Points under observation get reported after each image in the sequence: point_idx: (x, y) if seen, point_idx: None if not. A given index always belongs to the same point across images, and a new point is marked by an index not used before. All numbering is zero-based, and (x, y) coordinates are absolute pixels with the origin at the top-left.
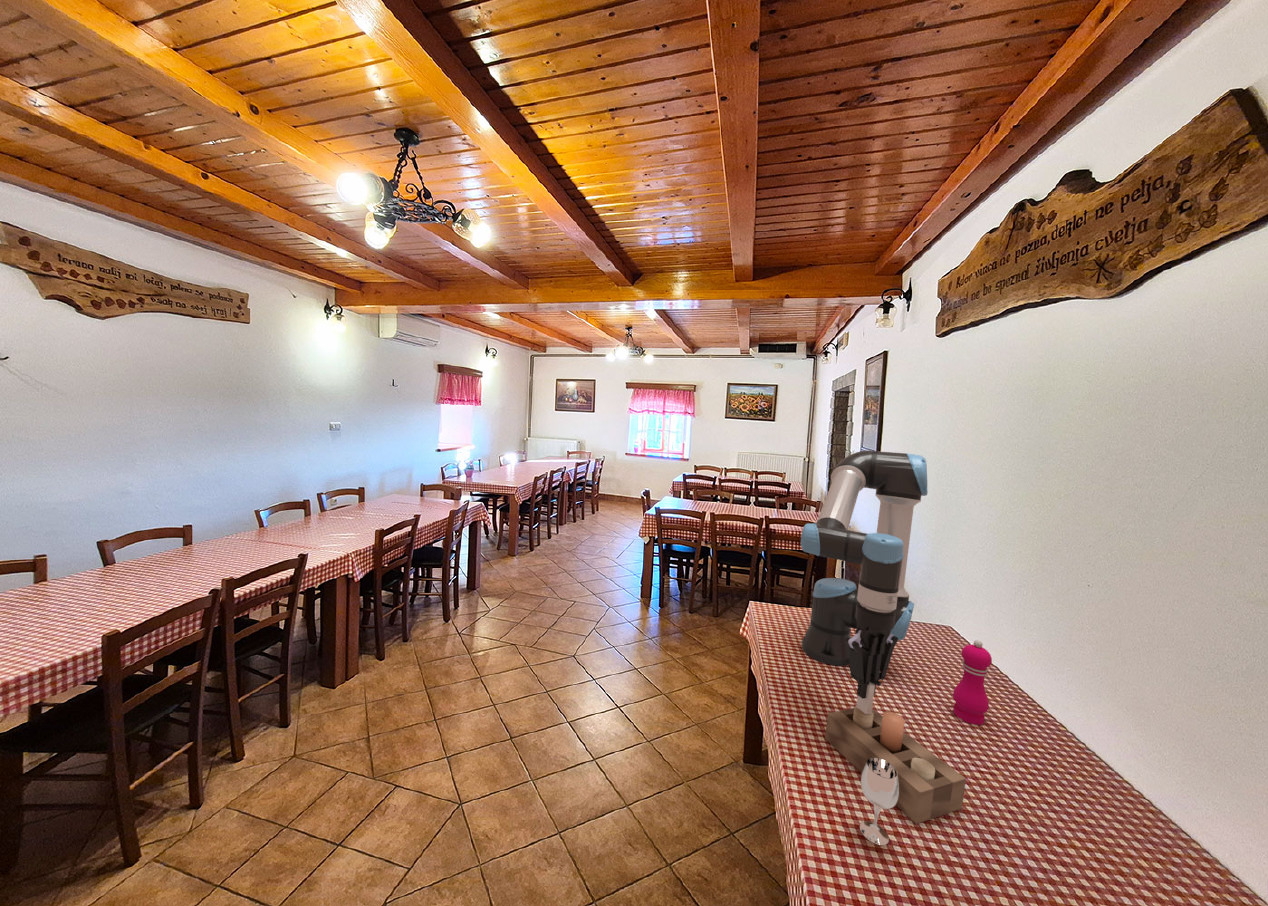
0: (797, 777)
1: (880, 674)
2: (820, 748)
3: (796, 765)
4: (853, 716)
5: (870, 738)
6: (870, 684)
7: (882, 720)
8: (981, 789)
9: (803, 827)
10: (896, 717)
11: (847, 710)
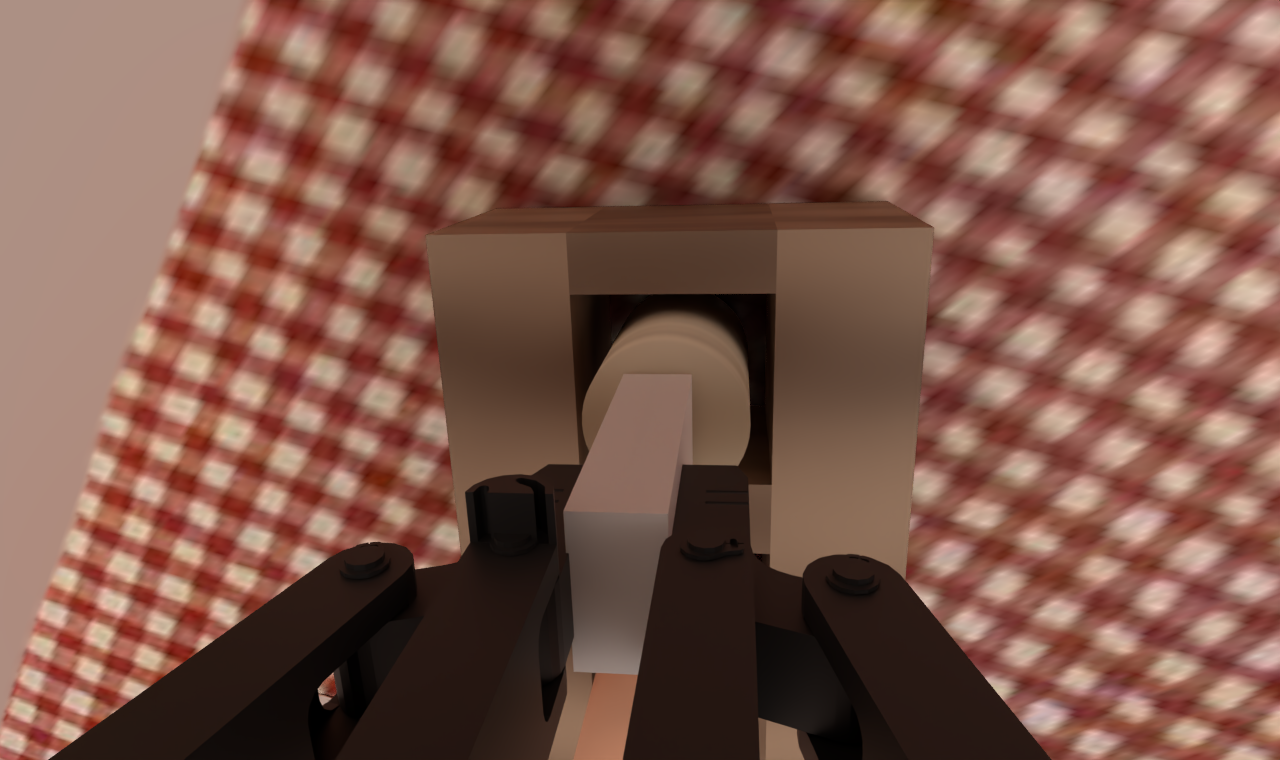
0: (143, 424)
1: (807, 754)
2: (404, 277)
3: (178, 354)
4: (610, 350)
5: None
6: (616, 648)
7: (600, 691)
8: (1108, 757)
9: (45, 635)
10: None
11: (642, 247)
